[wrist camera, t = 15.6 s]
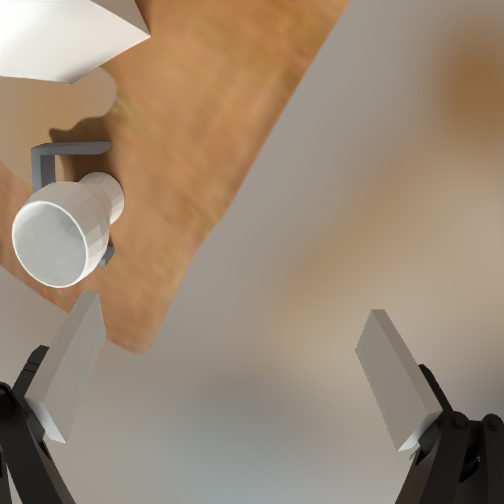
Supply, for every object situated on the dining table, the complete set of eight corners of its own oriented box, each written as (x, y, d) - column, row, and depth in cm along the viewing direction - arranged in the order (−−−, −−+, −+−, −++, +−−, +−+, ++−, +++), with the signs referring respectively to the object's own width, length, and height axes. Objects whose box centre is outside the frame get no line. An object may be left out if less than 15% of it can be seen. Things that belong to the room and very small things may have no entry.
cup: (116, 247, 43) (77, 309, 30) (57, 212, 40) (1, 261, 27) (148, 184, 40) (109, 229, 26) (83, 147, 37) (20, 175, 23)
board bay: (45, 143, 36) (31, 148, 32) (111, 141, 37) (100, 146, 33) (54, 247, 43) (42, 259, 39) (114, 252, 44) (105, 266, 40)
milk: (72, 83, 33) (-80, 95, 9) (47, 21, 28) (-90, -6, 4) (151, 36, 31) (43, -36, 8) (122, -27, 26) (22, -118, 3)
